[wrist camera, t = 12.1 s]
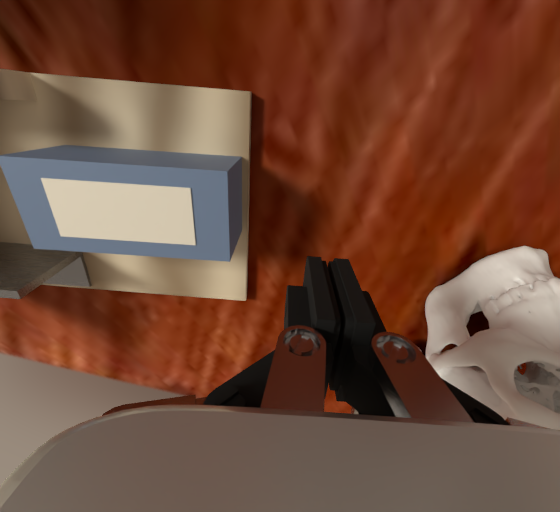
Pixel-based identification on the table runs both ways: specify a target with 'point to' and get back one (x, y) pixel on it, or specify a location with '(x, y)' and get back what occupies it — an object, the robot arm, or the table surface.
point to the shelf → (140, 136)
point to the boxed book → (128, 201)
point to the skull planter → (501, 335)
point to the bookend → (38, 269)
